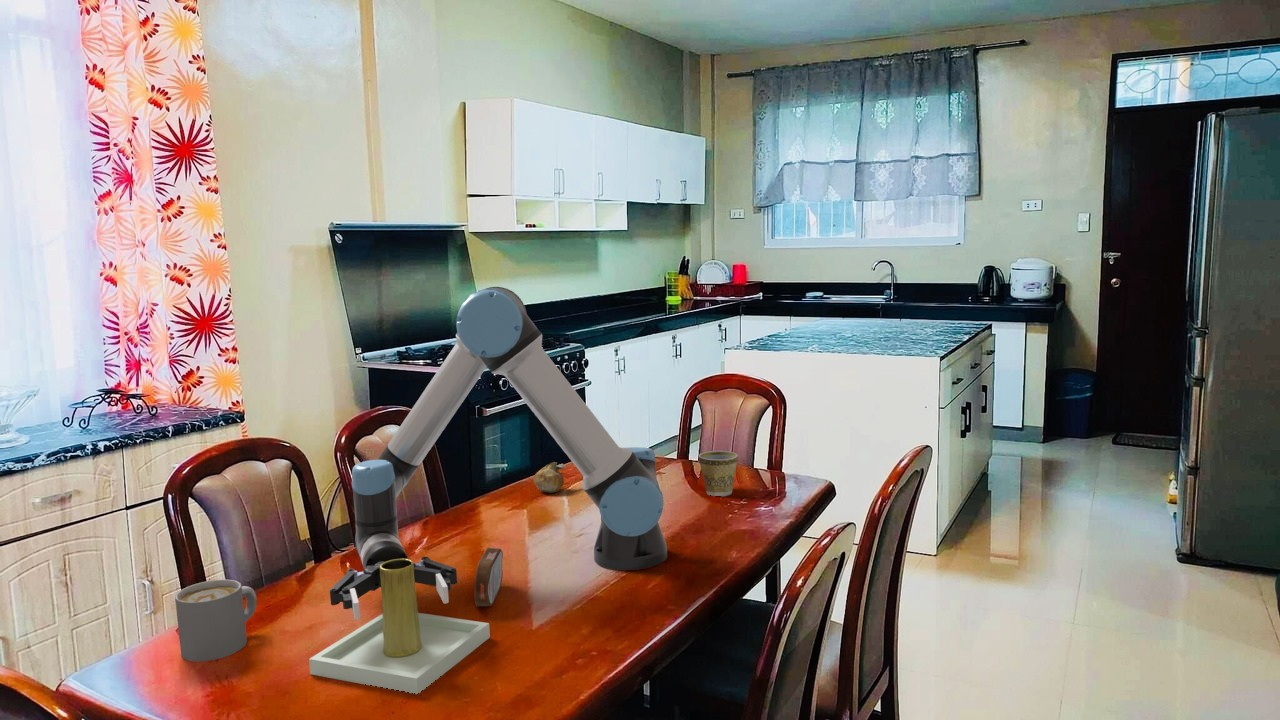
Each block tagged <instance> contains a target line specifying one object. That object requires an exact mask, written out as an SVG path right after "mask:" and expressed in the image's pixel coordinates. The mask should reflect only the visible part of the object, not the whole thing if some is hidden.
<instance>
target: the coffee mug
mask: <svg viewBox="0 0 1280 720" xmlns="http://www.w3.org/2000/svg"><path fill="white" fill-rule="evenodd" d="M243 597H245V600H246V605H245V606H244V599H243ZM174 600H175V601H174V603H175V609H176V611H175V612H176V618H177V629H178V636H179V637H178V638H179V647H180V655H181V657H182V659H184V660H186V661H189V662H198V663H199V662H200V663H201V662H209V661H216V660H220V659H223V658H226V657H229V656H231V655H234V654H236V653H237V652H239V651H241V650H242V649H243V648H245V646H247V643H248V640H247V631H246V630H247V628H246V622H247V621H249V619H251V618H252V616H253V615H254V614H255V612H256V610H257V603H258V600H257V594H256V592H255V590H254V589H253V588H252V587H250V586H246V585H243V586H242V584H241V582H239V581H237V580H234V579H224V578H223V579H214V580H213V579H212V580H207V581H201V582H199V583H195V584H192V585H188V586H186V587H185V588H182V589H181V590H180V591H178V592H177V593H176V594H175V597H174ZM244 607H245V609H244Z"/></svg>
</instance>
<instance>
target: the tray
mask: <svg viewBox="0 0 1280 720" xmlns="http://www.w3.org/2000/svg"><path fill="white" fill-rule="evenodd" d="M418 618H419V627H420V638H421V643H422V647H421V649H420V650H419V651H418V652H416V653H414V654H412V655H409V656H405V657H390V656H387V655H385V654H384V653H383V646H384V638H383V613H381V614H380V615H378V616H376V617H375V618H374V619H373V618H372V619H371V620H370V621H368V622H367V623H365V624H364V625H362V626H360V627H359V628H357V629H355V630H354V631H352V632H350V633H349V634H348V635H345V636H344V637H342V638H341V639H339V640H338V641H336V642H334V643H332V644H331V645H329V646H328V647H326V648H323V650H321V651H320V652H317V654H314V655H313V656H311V657H310V658H308V662H309V663H308V664H309V673H310V675H312V676H313V675H314V676H318V677H322V678H323V677H324V678H329V679H334V680H339V681H344V682H351V683H356V684H361V685H365V684H366V686H370V685H372V686H371V687H375V686H377V688H380V687H383V688H382V689H386V688H388V689H387V690H391V689H394V690H393V691H396V690H399V691H398V692H401V691H405V692H404V693H407V692H409V693H408V694H412V693H413V695H417V694H418V693H419V694H420V693H422V692H423V691H424V690H426V689H427V688H428V687H429V686H430V685H432V684H433V683H434V682H436V681H437V680H438V679H439V678H441V677H442V676H443V675H445V673H447V672H449V670H451V669H452V668H453V667H455V666H456V665H457V664H459V663H460V662H461V661H462V660H463V659H465V658H466V657H467V656H469V655H470V654H471V653H472V652H473V651H475V650H476V649H477V648H478V647H479V648H480V646H481V645H482V644H483V643H485V642H486V641H487V640H490V638H491V635H490V634H491V633H490V623H489V622H483V621H475V620H469V619H463V618H455V617H449V616H443V615H436V614H429V613H422V612H418ZM440 676H441V677H440ZM435 680H436V681H435ZM431 683H432V684H431ZM426 687H427V688H426ZM422 690H423V691H422ZM421 691H422V692H421ZM414 693H415V694H414ZM419 694H418V695H419Z"/></svg>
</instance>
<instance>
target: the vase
mask: <svg viewBox="0 0 1280 720" xmlns="http://www.w3.org/2000/svg"><path fill="white" fill-rule="evenodd" d="M413 563H414V560H412V559H410V558H408V559H393V560H389V561H386V562H384V563H382V564H381V565H380V576H381V587H380V588H381V589H380V593H381V606H382V607H381V609H382V614H383V638H384V646H383V653H384V654H385V655H387V656H390V657H405V656H409V655H412V654H414V653H416V652H418V651H419V650H420V649H421V647H422V643H421V638H420V627H419V618H418V613H419V609H418V601H417V591H416V590H417V589H416V583H415V580H414V566H413Z"/></svg>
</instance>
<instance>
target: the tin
mask: <svg viewBox="0 0 1280 720" xmlns="http://www.w3.org/2000/svg"><path fill="white" fill-rule="evenodd" d="M503 557H504V552H503V550H502V549H501V548H496V547H495V548H494V547H487V548H486V549H485V551H484V553H483V554H482V556H481V558H480V559H479V561H478V563H477V567H476V570H475V572H476V573H475V577H474V578H475V579H474V603H475V607H488V608H489V607H491V606H492V605H493V604H494V602H495V600H496V598H497V597H498V594H499V592H500V590H501V586H502V583H503Z"/></svg>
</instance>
